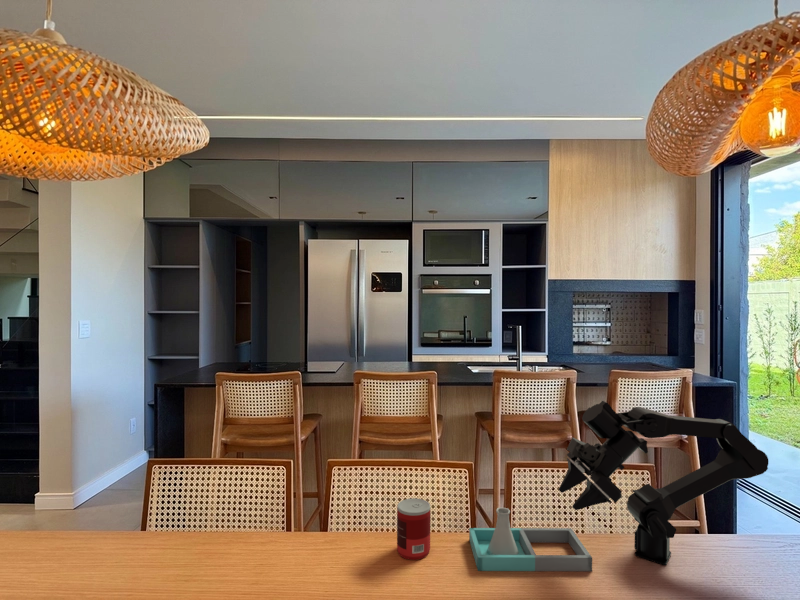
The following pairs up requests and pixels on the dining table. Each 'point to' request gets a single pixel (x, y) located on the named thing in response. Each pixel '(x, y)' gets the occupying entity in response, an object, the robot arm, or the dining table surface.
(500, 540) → the flask
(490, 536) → the tray
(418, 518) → the canned food
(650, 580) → the dining table surface
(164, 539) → the dining table surface
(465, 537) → the dining table surface
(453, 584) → the dining table surface
